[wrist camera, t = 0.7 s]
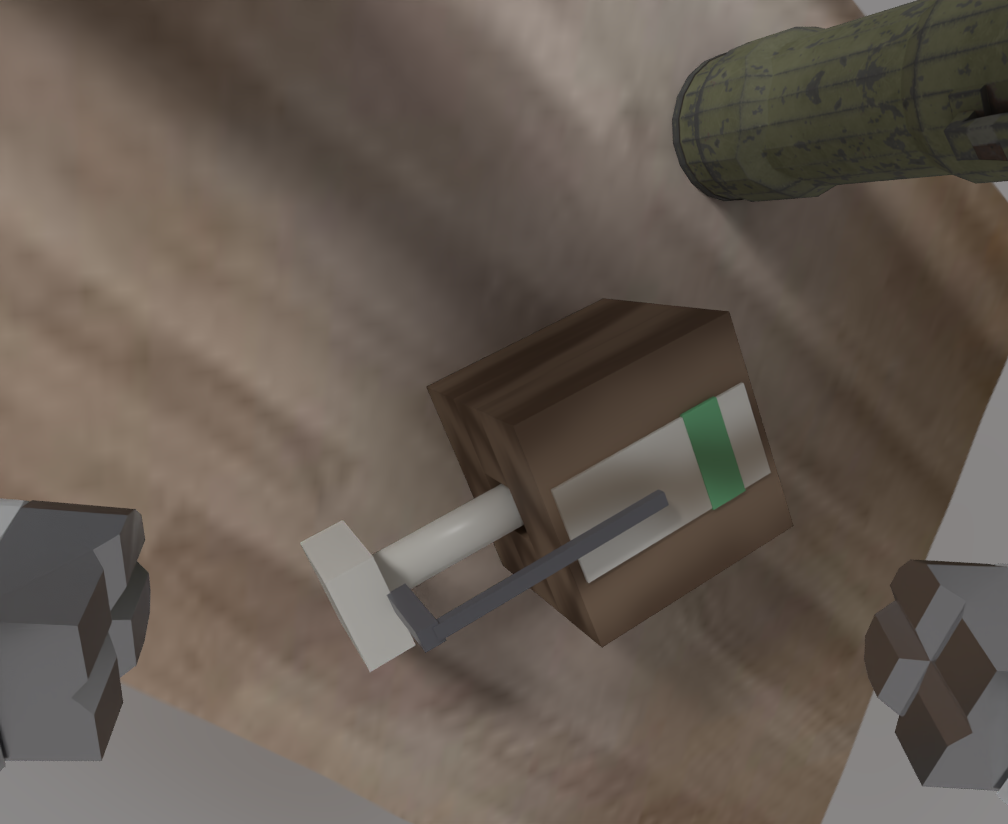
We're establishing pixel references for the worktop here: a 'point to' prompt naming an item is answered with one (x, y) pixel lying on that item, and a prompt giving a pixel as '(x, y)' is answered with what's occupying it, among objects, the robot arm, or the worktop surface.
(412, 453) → the worktop surface
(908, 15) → the olive green tall piece
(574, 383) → the block
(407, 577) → the peg
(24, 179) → the worktop surface
